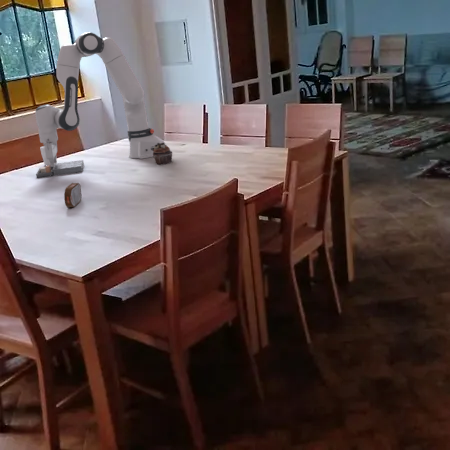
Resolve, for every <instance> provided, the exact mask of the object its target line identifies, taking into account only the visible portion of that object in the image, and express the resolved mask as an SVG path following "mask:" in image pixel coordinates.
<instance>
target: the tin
mask: <svg viewBox="0 0 450 450" xmlns="http://www.w3.org/2000/svg"><path fill="white" fill-rule="evenodd" d="M81 187H82V186H81V184H80V183H78V182H72V183H70V184H69V185H67V186H66V187H65V189H64V196H63V198H64V204H65V207H66V208H68V209H69V208H71V209H72V208H76V207H77V205H78V204H79V203H81V201H82V197H83V196H82V188H81Z"/></svg>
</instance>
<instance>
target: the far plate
mask: <svg viewBox="0 0 450 450" xmlns="http://www.w3.org/2000/svg"><path fill="white" fill-rule="evenodd" d="M84 167H85V163H84V159H81V160H73V161H72V160H71V161H66V162H59V163H58V162H57V164H55V167H54V169H53V173H54V175H53V177H54V176H55V177H56V176H63V175H70V174H75V173H76V174H77V173H83V171H84Z"/></svg>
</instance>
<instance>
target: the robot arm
mask: <svg viewBox="0 0 450 450" xmlns="http://www.w3.org/2000/svg"><path fill="white" fill-rule="evenodd" d="M95 54H96V55H97V56H99V58H100V59H101V61H102V62H103V64H104V66H105V68H106V70H107V71H108V73H109V75H110V77H111V78H112V80H113V81H114V83H115V85H116V87H117V89H118V91H119V92H120V94H121V97H122V102H123V109H124V113H125V118H126V119H125V120H126V126H127V138H128V139H127V140H128V141H129V154H128V157H129V158H130V159H148V158H152V157H153V158H154V156H153V150H154V146H155V145H157V143H165V141H164V140H163V138H161V137H159V136H157V135H155V134H154V133H155V130H154V129H153V128H151V127H149V121H148V114H147V109H146V104H145V91H144V87H142V84H141V83H140V81H139V79H138V78H137V75H136V74H135V72H134V70H133V69H132V67H131V66H130V63H129V62H128V59H126V56H125V54H124V53H123V51H122V49H121V47H120V46H119V45H118V43H117V42H116V40H114V39H113V38H111V37H103V38H101V37H100V36H98V35H97V34H96V33H94V32H91V31H88V32H84V33H81V34H80V35H78V37H77V38H76V39H75V41H74V42H73V43H72V44H71V43H65V44H63V45H61V47H60V50H59V52H58V56H57V62H56V67H55V68H56V71H55V72H56V79H57V80H58V82H59V83H60V85H62V87H63V90H64V103H63V108H59V107H55V106H52V105H51V104H43V105H40V106H38V107H37V108H36V109H35V112H34V113H35V121H36V126H37V128H38V137H39V142H40V143H41V144H42V145H43V146H44V147H45V154H46V158H47V159H49V161H50V164H51V165H50V166H51V167H54V166H55V165H56V164H55V163H56V162H57V163H58V159H57V160H56V157H57V153H58V140H59V137H58V136H59V135H58V131H57V129H63V130H65V131H68V132H71V131H74V130H76V129H77V128H78V126H80V121H81V119H80V114H79V111H78V101H79V99H78V98H79V97H78V96H79V76H80V75H79V74H80V66H81V65H80V64H81V60H82V58H84V57H86V58H87V57H92V56H94V55H95ZM165 144H166V143H165ZM170 151H171V149H170ZM171 152H172V151H171Z"/></svg>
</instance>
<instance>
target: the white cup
mask: <svg viewBox="0 0 450 450" xmlns="http://www.w3.org/2000/svg"><path fill="white" fill-rule="evenodd" d="M39 150H40V153H41V157H42V161H43V164H44V166H45V165H50V166H51V164H50V161H49V159H47V158H46V154H45V147H44V145H43V146H40V149H39ZM57 157H58V156H56V160H57V162H56V163H55V165H56V164H57V163H58V158H57Z"/></svg>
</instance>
